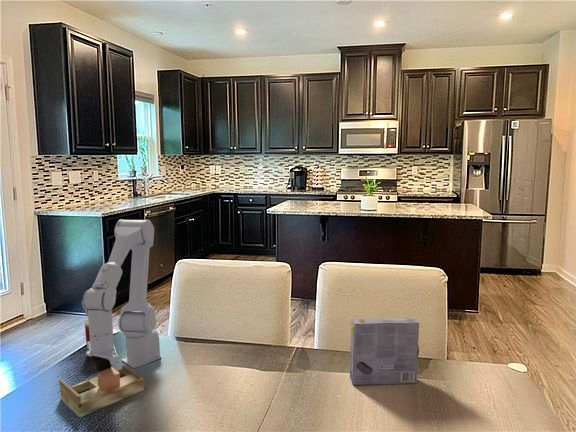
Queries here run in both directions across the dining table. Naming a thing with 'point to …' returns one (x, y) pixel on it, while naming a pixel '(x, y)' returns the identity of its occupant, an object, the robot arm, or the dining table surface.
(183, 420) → the dining table surface
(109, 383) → the block
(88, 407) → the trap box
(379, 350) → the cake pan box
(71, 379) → the dining table surface
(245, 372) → the dining table surface
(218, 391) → the dining table surface
